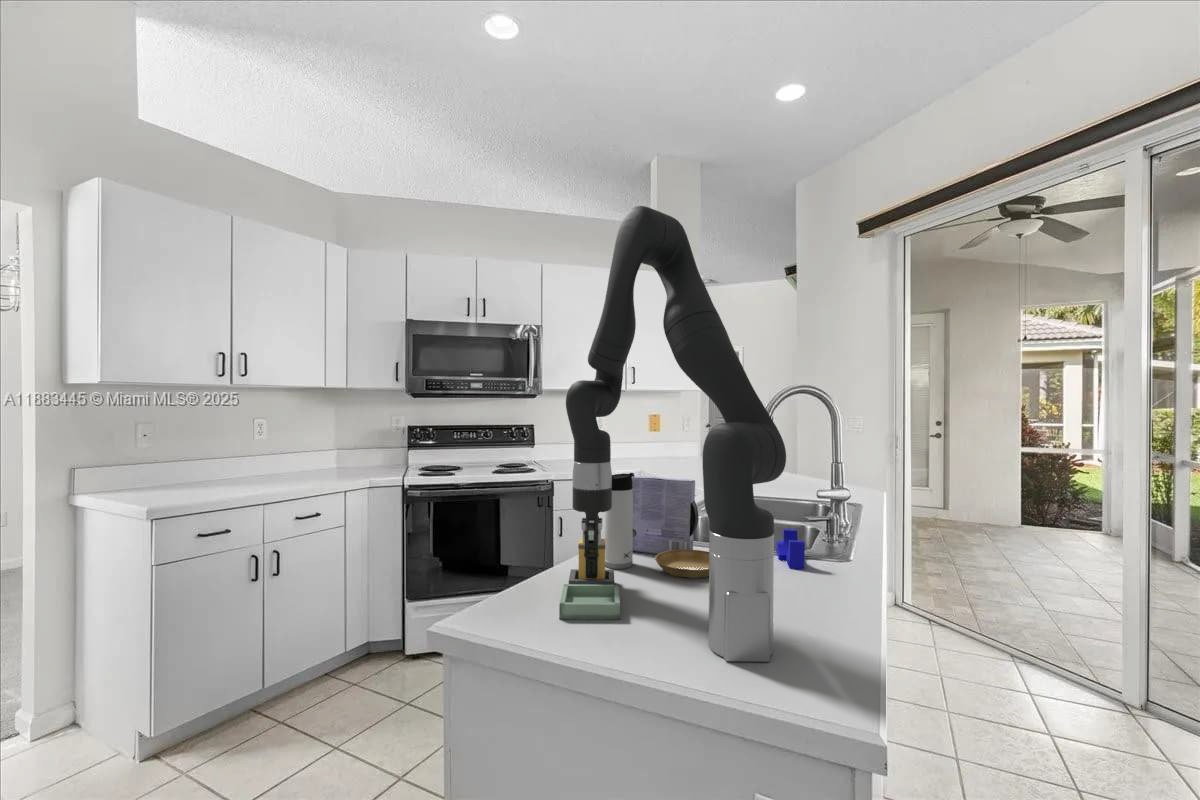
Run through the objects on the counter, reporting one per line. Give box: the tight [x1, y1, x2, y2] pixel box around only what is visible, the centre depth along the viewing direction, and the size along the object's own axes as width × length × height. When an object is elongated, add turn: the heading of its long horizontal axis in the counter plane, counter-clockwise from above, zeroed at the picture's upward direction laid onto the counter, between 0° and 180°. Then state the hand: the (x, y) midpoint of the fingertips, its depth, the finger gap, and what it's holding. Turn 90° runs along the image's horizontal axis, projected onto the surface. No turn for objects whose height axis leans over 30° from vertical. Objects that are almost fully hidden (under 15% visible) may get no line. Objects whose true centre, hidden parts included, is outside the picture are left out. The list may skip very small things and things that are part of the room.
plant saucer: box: [654, 549, 709, 579], centre depth 124 cm, size 15×15×3 cm
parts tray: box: [558, 583, 621, 621], centre depth 102 cm, size 10×10×2 cm
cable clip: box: [775, 528, 806, 571], centre depth 131 cm, size 12×4×6 cm, turn 169°
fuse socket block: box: [568, 568, 615, 585], centre depth 112 cm, size 7×8×2 cm
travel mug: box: [603, 472, 635, 570], centre depth 127 cm, size 6×7×20 cm
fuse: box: [577, 538, 606, 579], centre depth 112 cm, size 4×5×9 cm
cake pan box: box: [632, 474, 699, 555], centre depth 138 cm, size 19×5×18 cm, turn 70°
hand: (591, 573), depth 112 cm, fingers closed on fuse, 3 cm apart
